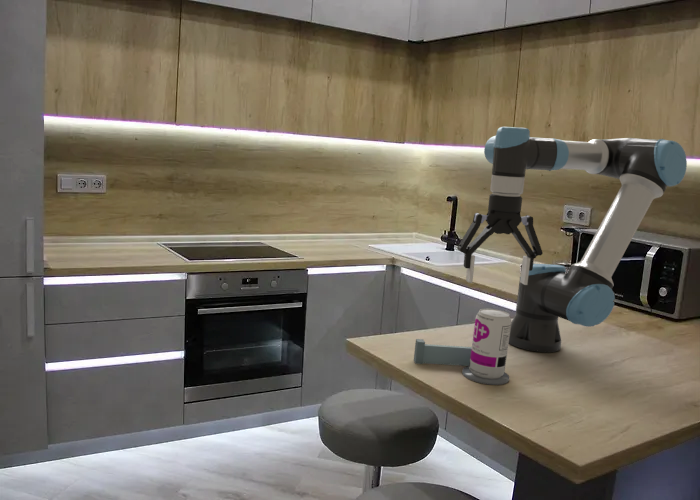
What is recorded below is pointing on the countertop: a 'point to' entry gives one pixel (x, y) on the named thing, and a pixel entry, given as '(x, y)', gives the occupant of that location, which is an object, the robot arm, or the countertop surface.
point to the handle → (441, 354)
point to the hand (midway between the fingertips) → (496, 282)
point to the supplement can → (490, 343)
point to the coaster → (471, 376)
